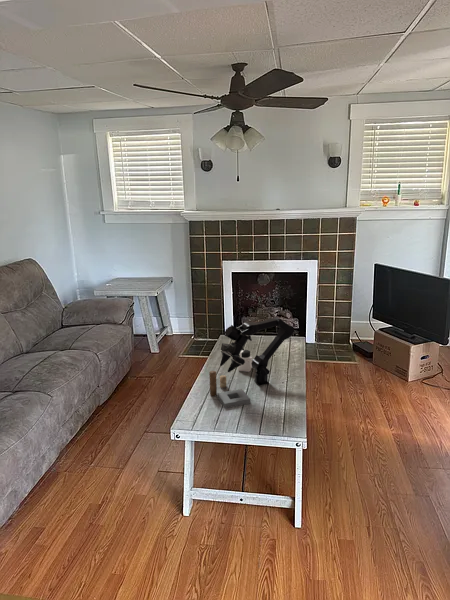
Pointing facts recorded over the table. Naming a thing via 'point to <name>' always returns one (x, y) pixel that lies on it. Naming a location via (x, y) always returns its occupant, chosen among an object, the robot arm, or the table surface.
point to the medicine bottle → (248, 360)
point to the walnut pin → (213, 383)
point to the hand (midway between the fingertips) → (224, 368)
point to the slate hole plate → (240, 394)
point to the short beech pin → (223, 381)
